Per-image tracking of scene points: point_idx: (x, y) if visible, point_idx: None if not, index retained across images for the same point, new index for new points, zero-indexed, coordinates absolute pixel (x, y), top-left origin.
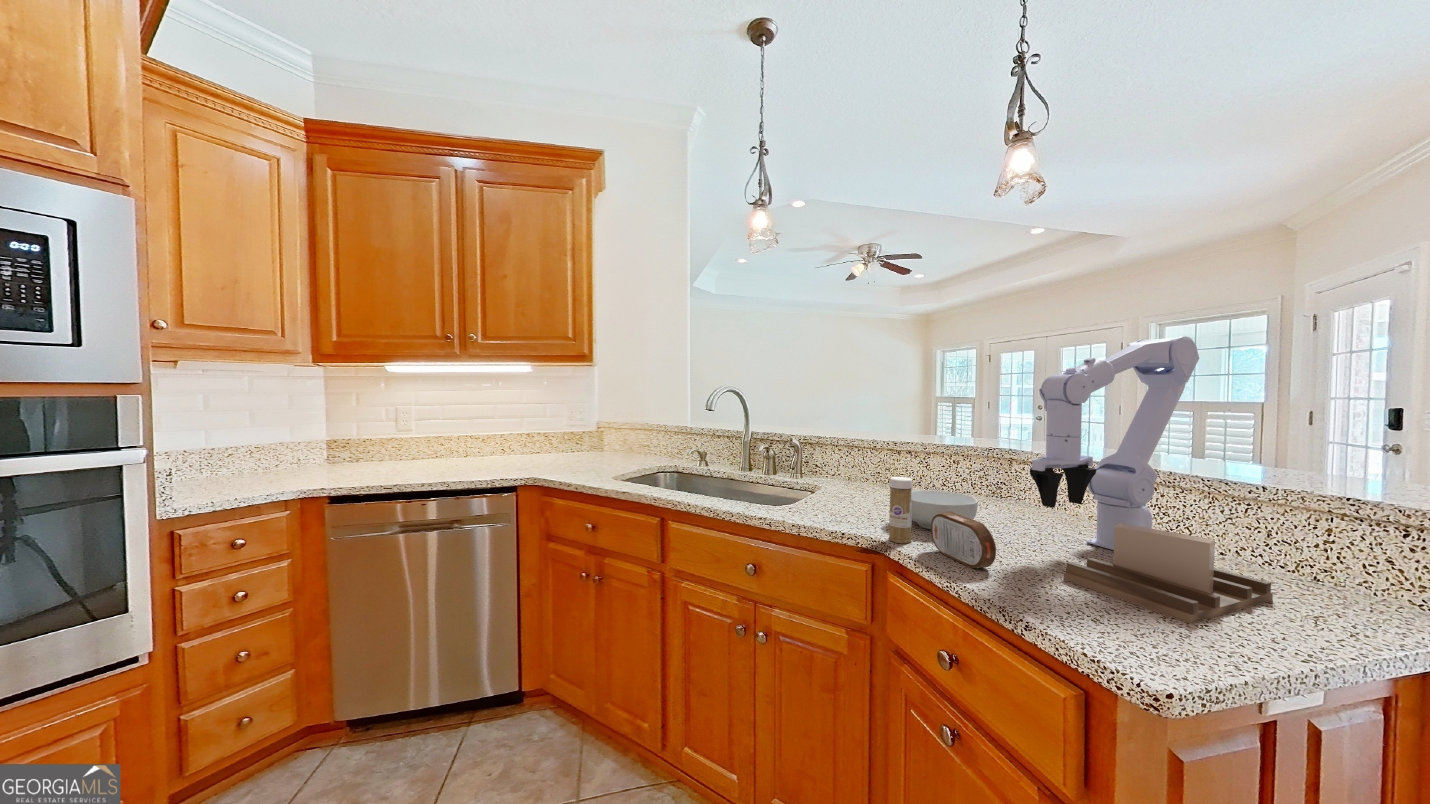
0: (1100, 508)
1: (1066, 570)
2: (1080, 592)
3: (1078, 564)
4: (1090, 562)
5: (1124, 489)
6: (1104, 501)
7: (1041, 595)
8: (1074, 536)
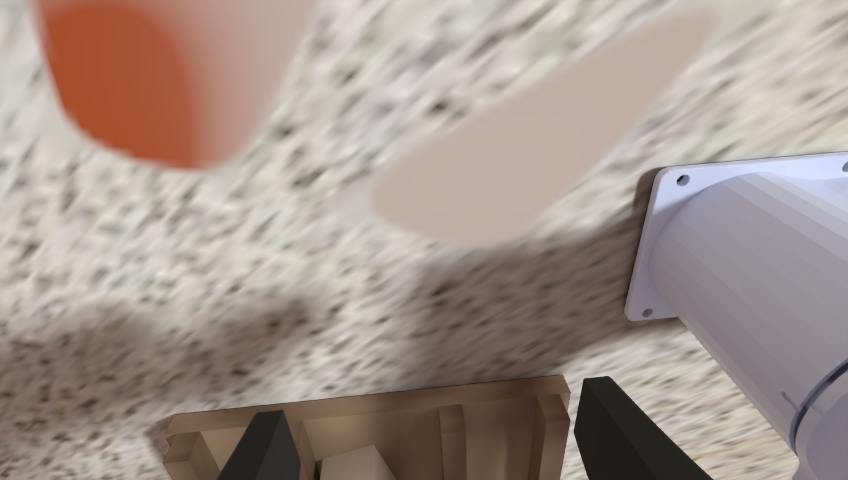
0: (802, 341)
1: (175, 438)
2: (152, 472)
3: (192, 478)
4: None
5: None
6: (829, 410)
7: (18, 469)
8: (756, 50)
